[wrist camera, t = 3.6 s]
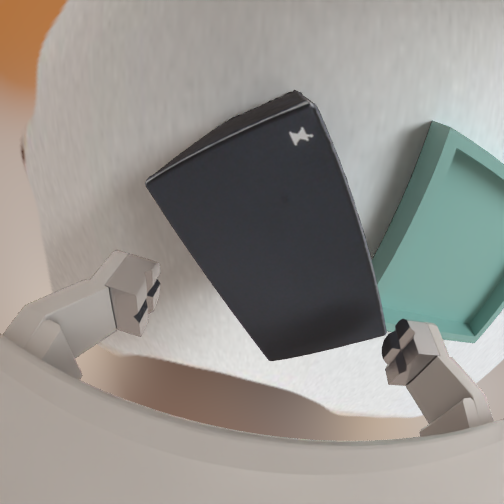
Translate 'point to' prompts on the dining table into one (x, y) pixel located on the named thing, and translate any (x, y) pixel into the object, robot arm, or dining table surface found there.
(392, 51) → the dining table surface
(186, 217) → the small box
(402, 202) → the teal tray
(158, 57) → the dining table surface
